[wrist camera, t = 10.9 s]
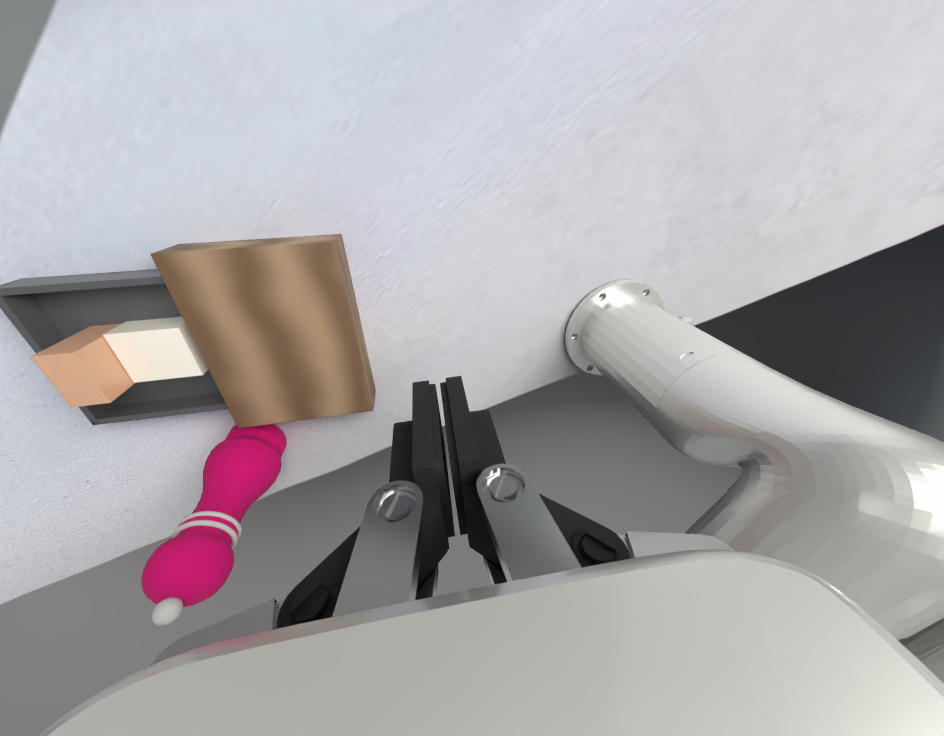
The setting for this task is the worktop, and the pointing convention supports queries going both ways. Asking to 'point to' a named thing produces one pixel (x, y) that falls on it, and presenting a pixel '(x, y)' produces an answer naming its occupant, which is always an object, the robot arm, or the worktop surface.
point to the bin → (104, 303)
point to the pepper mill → (213, 522)
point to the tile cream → (156, 349)
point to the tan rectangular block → (85, 368)
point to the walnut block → (274, 325)
